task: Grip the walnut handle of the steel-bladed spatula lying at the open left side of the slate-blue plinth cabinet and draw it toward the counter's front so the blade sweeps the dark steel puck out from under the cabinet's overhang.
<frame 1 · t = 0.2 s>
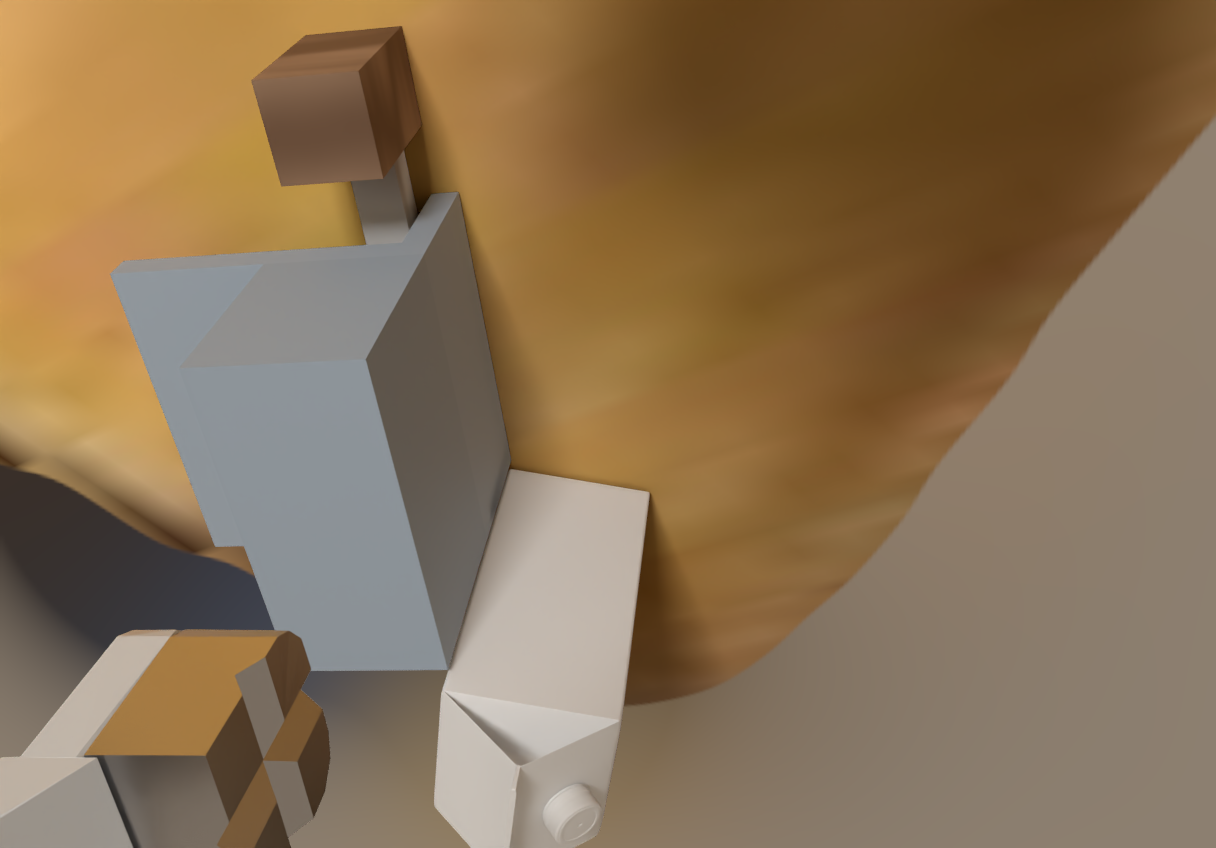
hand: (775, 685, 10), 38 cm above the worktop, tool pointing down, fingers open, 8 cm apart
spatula: (364, 80, 47), on the worktop
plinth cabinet: (351, 342, 54), on the worktop
milk carton: (572, 529, 59), on the worktop
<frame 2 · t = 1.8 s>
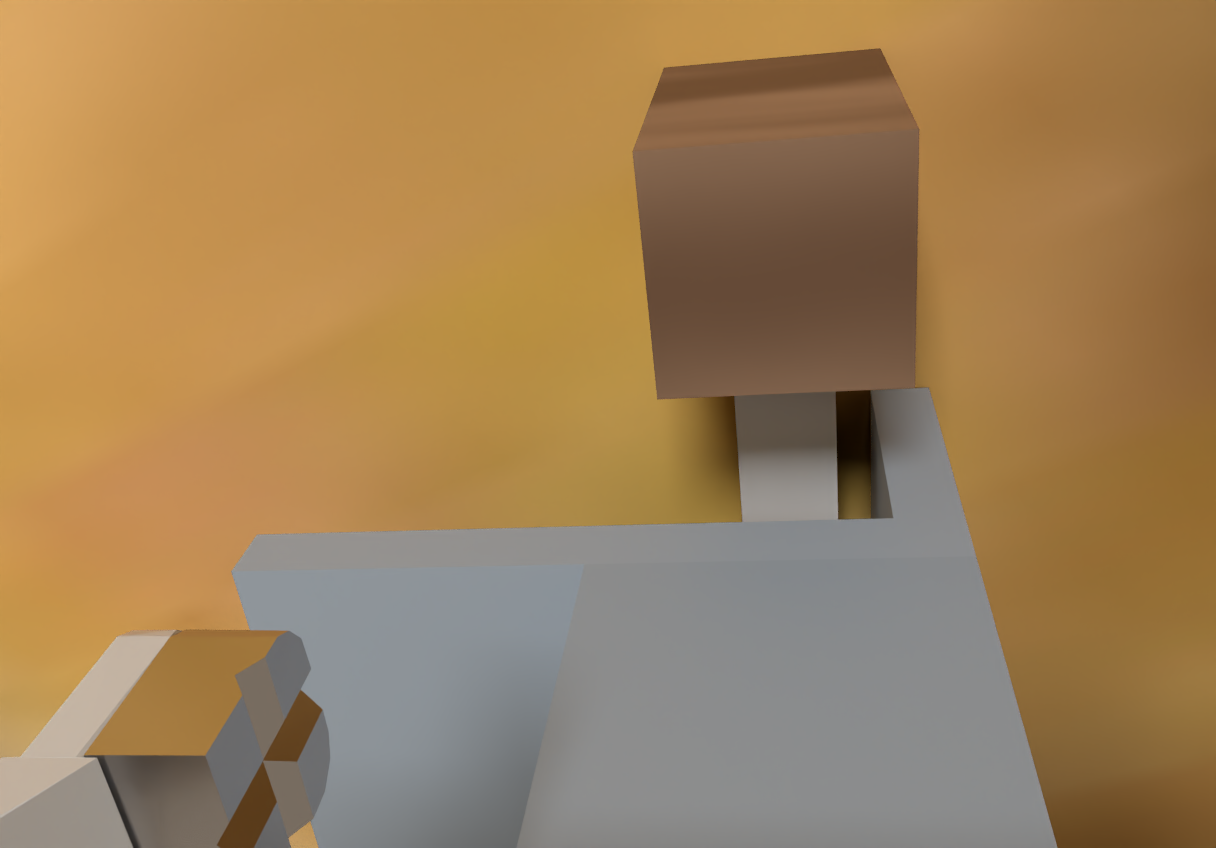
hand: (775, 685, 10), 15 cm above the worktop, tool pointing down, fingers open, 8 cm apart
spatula: (775, 163, 22), on the worktop
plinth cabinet: (652, 652, 28), on the worktop
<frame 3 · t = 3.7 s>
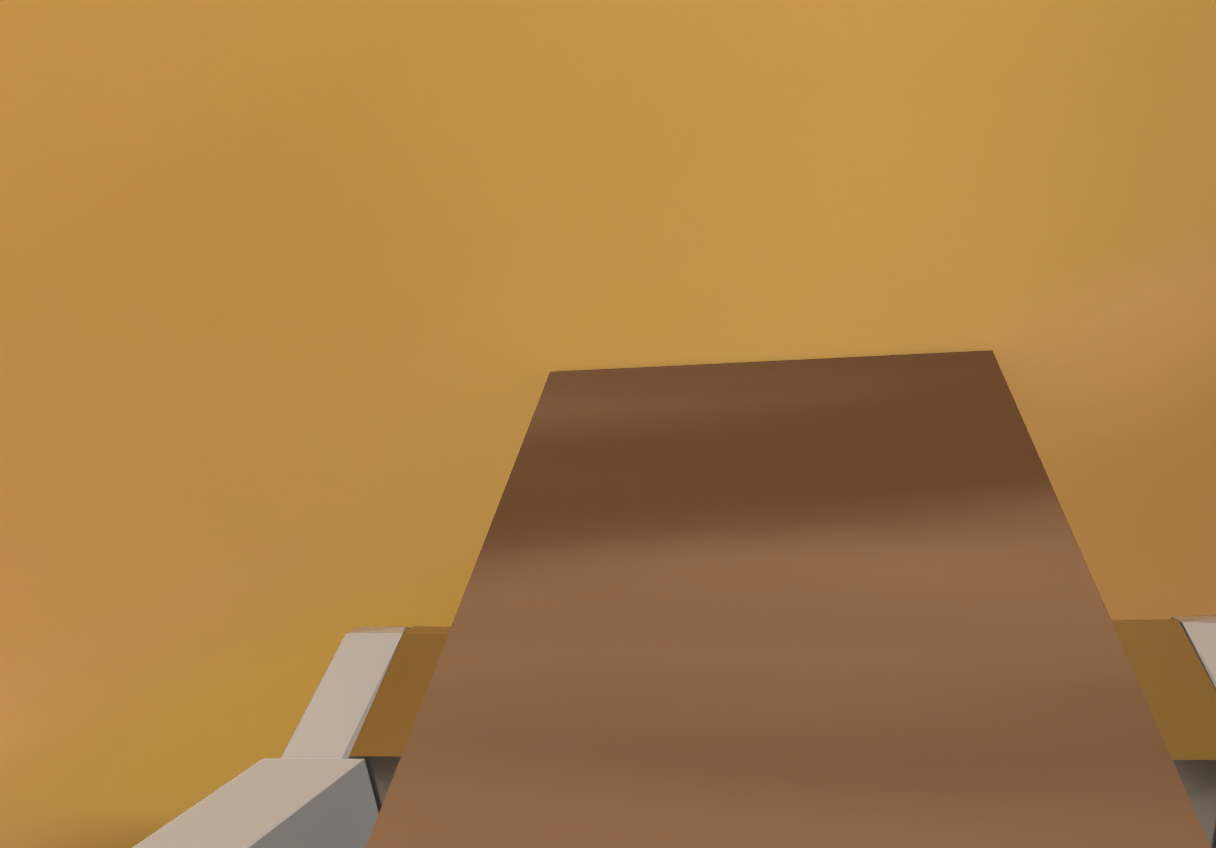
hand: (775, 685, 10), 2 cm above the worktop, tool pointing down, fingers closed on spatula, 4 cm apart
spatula: (773, 545, 11), on the worktop, touching gripper
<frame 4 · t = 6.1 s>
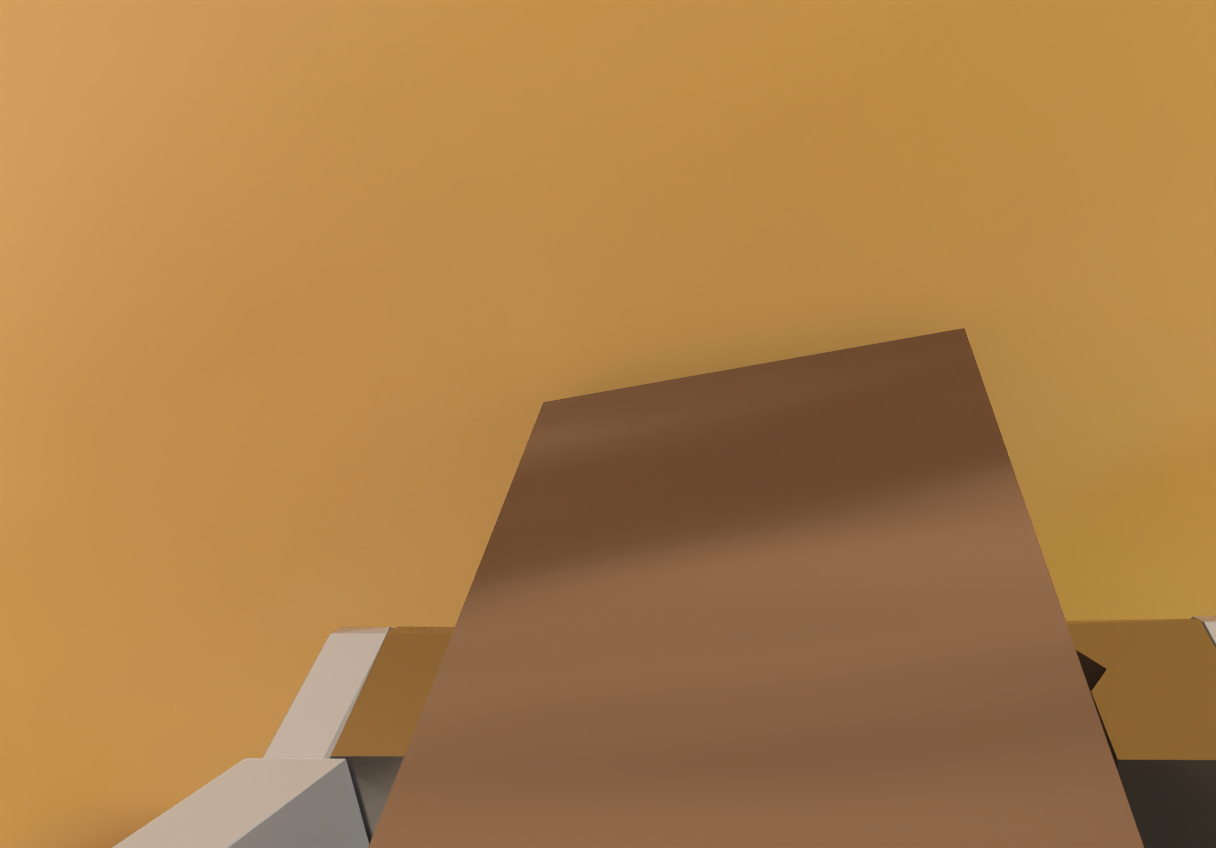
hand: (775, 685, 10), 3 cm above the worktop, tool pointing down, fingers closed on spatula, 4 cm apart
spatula: (784, 541, 12), on the worktop, touching gripper, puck
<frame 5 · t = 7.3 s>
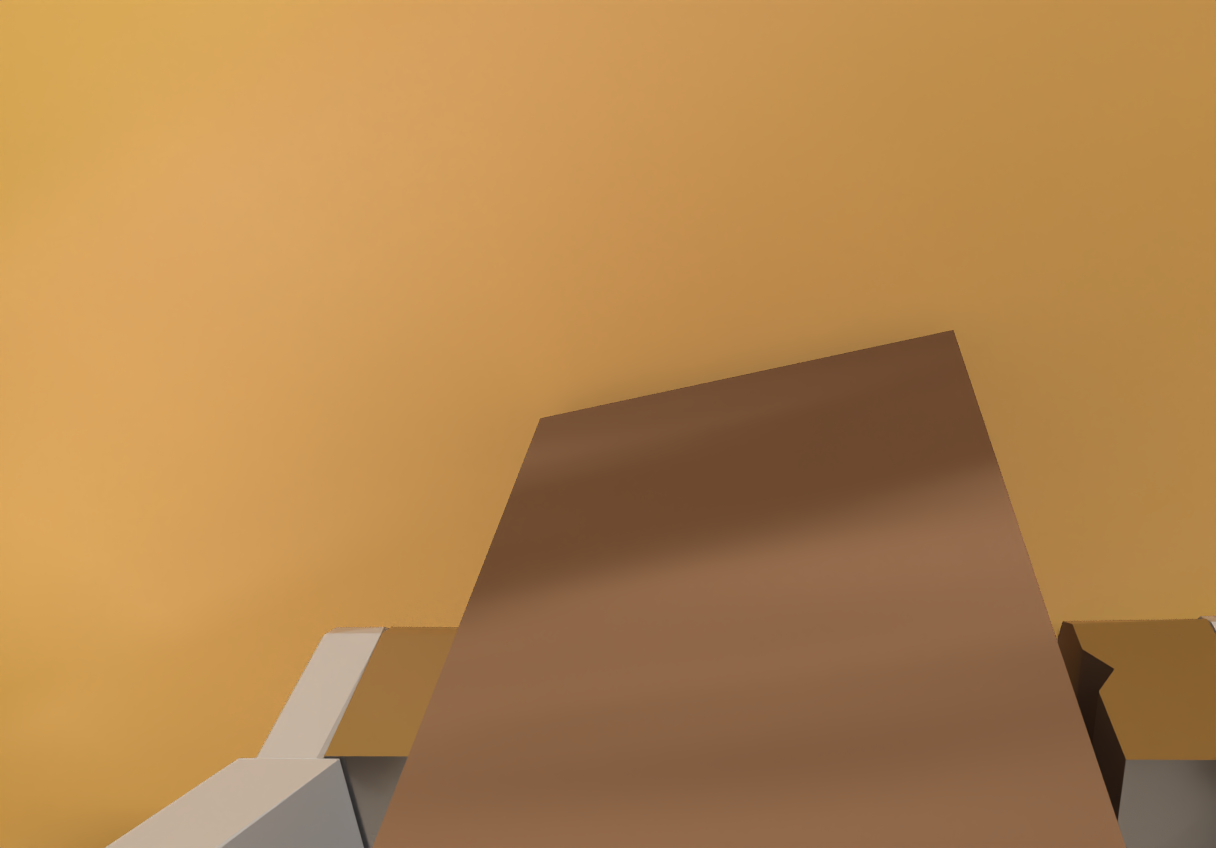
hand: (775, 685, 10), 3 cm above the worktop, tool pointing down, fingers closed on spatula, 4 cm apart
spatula: (784, 548, 12), on the worktop, touching gripper, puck
when the fingers open (2 cm above the worktop, at t = 8.5 s): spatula stays where it is, on the worktop.
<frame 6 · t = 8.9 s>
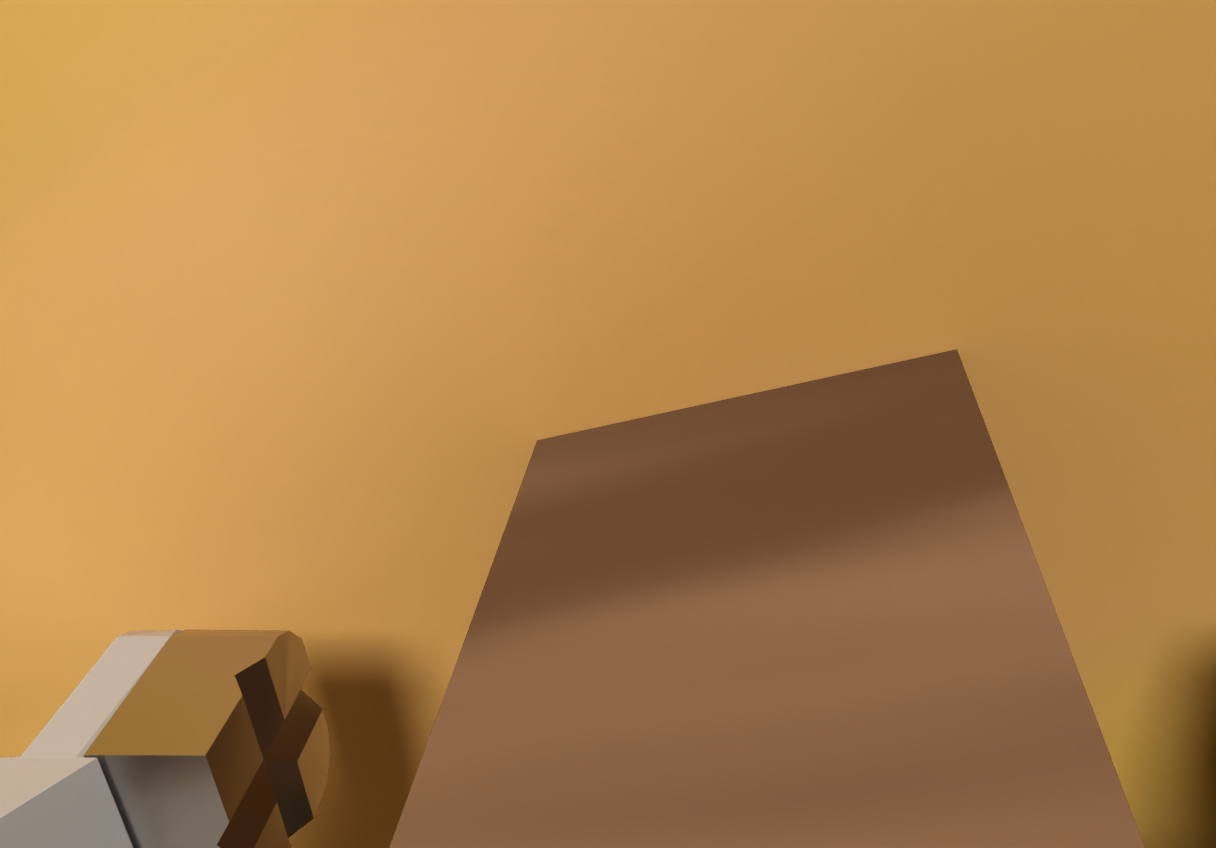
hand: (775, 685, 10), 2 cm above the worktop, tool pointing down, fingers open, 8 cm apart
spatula: (786, 571, 12), on the worktop
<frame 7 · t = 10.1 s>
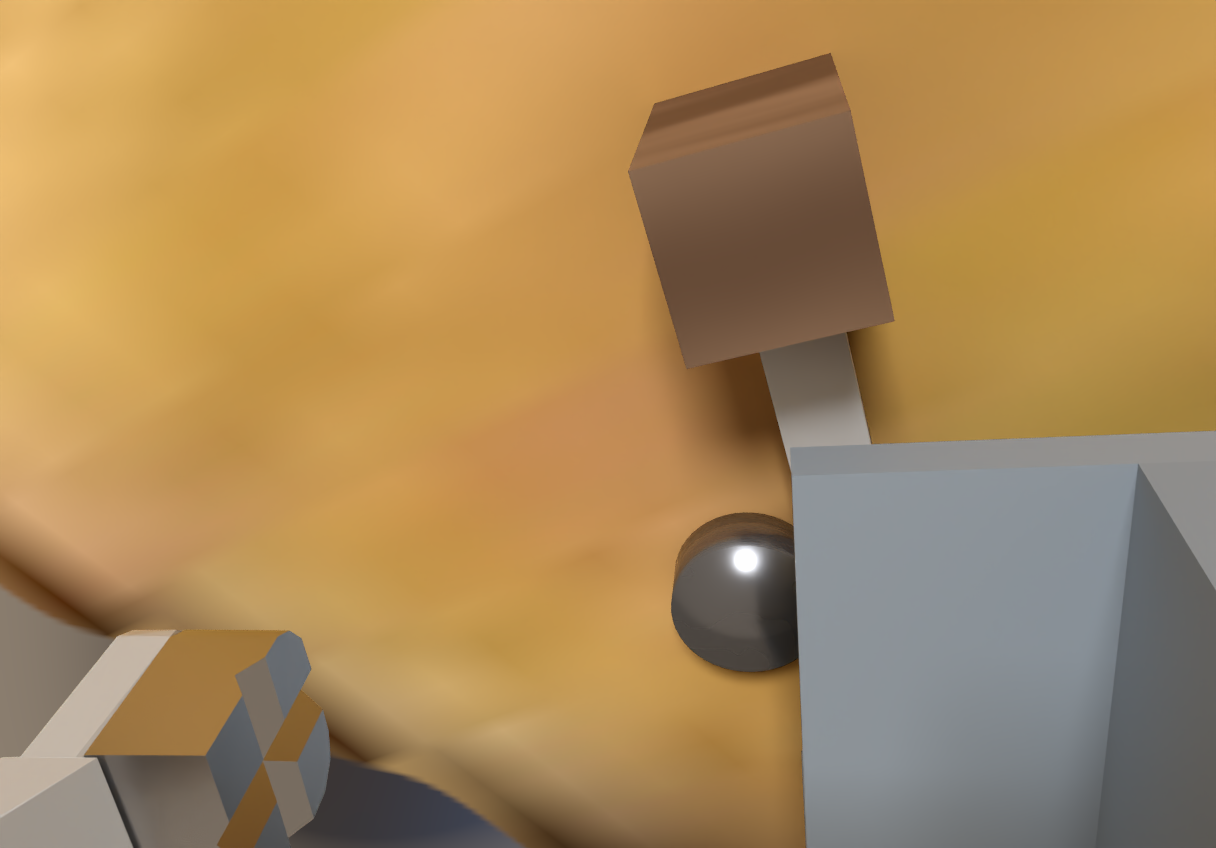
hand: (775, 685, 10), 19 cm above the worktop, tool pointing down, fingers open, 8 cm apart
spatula: (762, 165, 26), on the worktop
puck: (748, 571, 32), on the worktop
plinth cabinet: (1043, 582, 30), on the worktop
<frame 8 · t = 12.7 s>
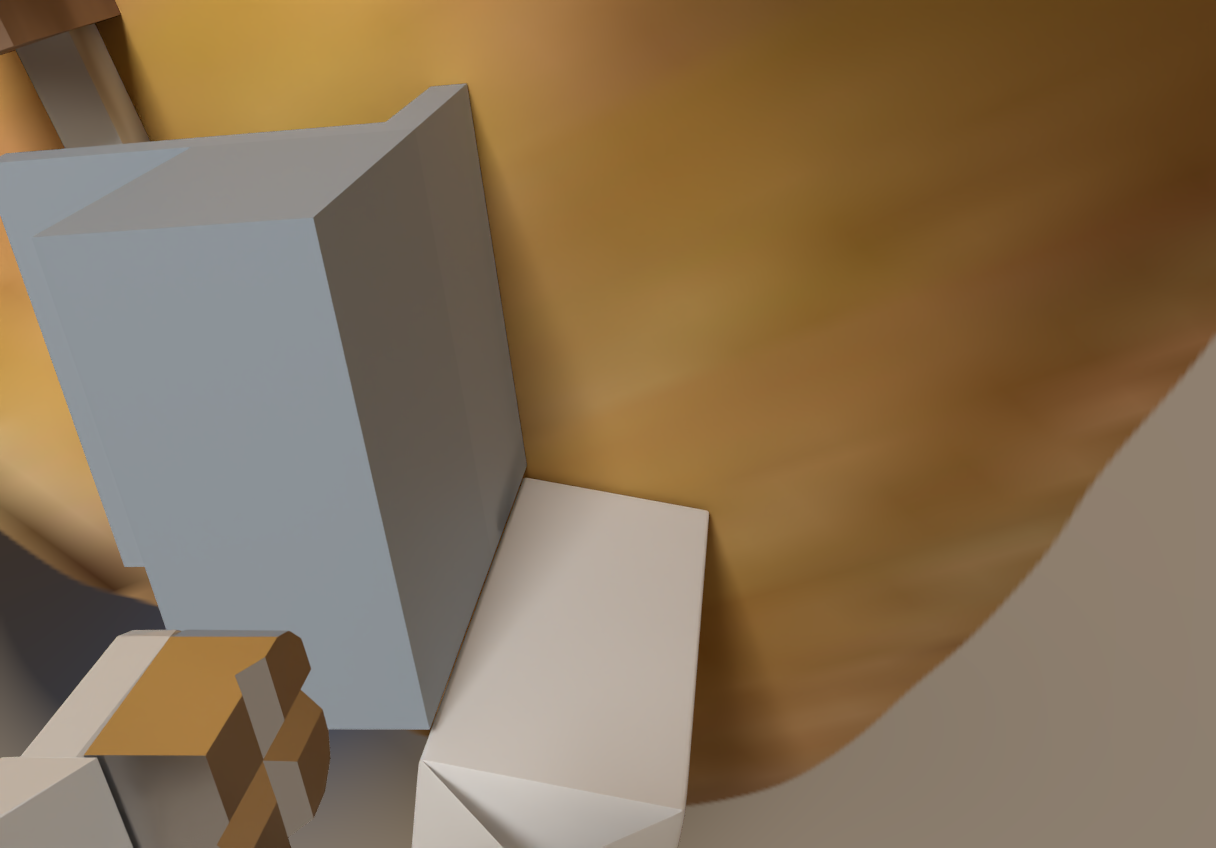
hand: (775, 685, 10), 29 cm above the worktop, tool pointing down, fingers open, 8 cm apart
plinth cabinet: (321, 300, 41), on the worktop
milk carton: (604, 563, 45), on the worktop
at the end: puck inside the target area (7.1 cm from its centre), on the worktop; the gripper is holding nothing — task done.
